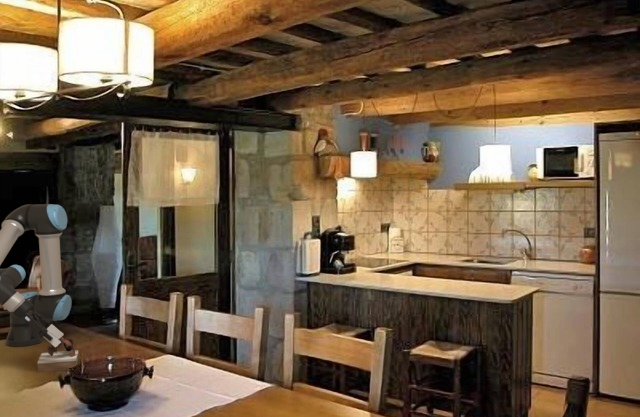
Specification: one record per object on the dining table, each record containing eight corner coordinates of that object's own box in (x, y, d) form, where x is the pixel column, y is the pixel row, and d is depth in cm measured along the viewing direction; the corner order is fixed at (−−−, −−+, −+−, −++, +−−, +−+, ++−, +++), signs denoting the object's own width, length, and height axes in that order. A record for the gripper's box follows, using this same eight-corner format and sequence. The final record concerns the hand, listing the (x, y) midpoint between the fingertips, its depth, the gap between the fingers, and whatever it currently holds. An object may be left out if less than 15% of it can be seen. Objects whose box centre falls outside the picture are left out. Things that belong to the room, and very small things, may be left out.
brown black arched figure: (71, 360, 241) (59, 343, 239) (52, 369, 243) (40, 353, 241) (84, 345, 253) (73, 329, 251) (65, 354, 254) (54, 338, 252)
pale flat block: (42, 362, 251) (42, 352, 251) (78, 359, 255) (78, 350, 255) (37, 372, 237) (37, 361, 237) (76, 368, 242) (76, 358, 242)
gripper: (15, 307, 252) (55, 340, 257) (5, 319, 228) (49, 355, 233) (29, 293, 253) (69, 327, 259) (21, 304, 230) (64, 340, 235)
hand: (59, 340), depth 246 cm, fingers open, 13 cm apart
